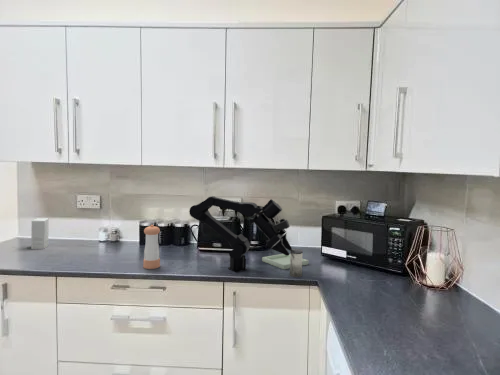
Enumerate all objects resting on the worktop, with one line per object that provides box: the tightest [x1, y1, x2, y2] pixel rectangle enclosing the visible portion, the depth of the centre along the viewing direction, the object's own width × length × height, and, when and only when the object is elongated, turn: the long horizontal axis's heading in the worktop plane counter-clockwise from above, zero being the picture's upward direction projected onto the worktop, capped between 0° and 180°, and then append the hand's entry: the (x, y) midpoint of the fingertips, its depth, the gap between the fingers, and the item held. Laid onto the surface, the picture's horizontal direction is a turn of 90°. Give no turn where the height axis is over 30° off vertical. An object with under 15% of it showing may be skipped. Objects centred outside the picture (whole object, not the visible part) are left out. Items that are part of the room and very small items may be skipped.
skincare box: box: [30, 217, 49, 250], centre depth 181 cm, size 8×7×16 cm
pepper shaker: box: [143, 224, 161, 270], centre depth 151 cm, size 7×7×19 cm
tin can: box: [289, 248, 304, 278], centre depth 144 cm, size 5×5×11 cm
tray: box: [261, 253, 310, 270], centre depth 163 cm, size 16×16×2 cm
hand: (290, 252), depth 144 cm, fingers open, 9 cm apart
